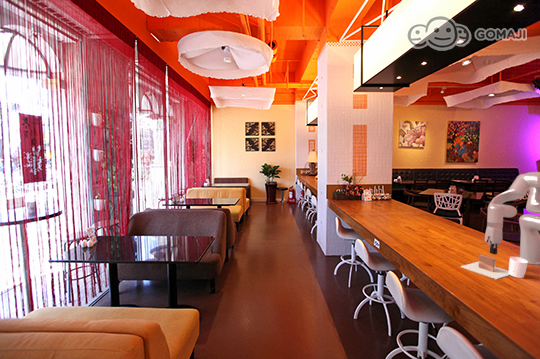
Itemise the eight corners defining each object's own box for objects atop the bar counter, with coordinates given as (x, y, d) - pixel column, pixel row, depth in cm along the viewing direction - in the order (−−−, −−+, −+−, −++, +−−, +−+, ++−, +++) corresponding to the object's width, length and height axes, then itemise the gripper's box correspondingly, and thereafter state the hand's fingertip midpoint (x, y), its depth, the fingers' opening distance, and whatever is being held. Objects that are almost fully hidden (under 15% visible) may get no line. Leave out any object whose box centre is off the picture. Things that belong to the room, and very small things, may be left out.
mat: (478, 262, 179) (478, 261, 179) (514, 273, 161) (514, 272, 161) (460, 267, 173) (460, 266, 173) (496, 279, 154) (496, 278, 154)
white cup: (507, 270, 163) (509, 255, 162) (524, 275, 158) (527, 259, 157) (507, 275, 157) (510, 259, 156) (525, 280, 152) (528, 264, 151)
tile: (480, 266, 171) (480, 254, 170) (494, 271, 163) (495, 258, 163) (478, 267, 170) (478, 255, 169) (492, 272, 163) (493, 259, 162)
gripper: (495, 222, 173) (493, 250, 175) (480, 224, 168) (479, 253, 169) (509, 225, 166) (507, 254, 168) (494, 227, 161) (492, 257, 162)
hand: (493, 253), depth 168 cm, fingers closed
